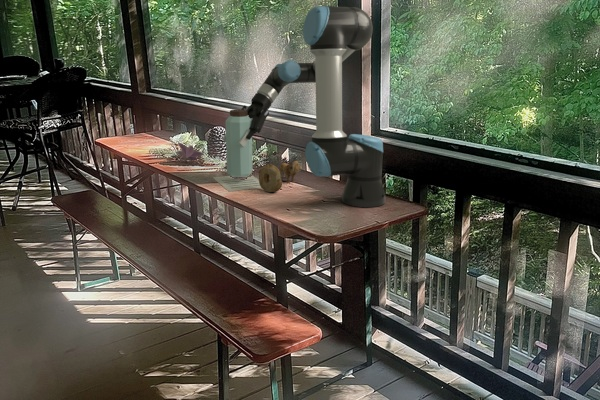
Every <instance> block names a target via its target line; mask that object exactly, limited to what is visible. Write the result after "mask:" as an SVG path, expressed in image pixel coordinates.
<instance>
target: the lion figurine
mask: <svg viewBox="0 0 600 400" xmlns="http://www.w3.org/2000/svg"><path fill="white" fill-rule="evenodd" d="M302 168H303V166H302V165H300V164H299V161H297V160H294V161H291V162H289V163H286V162H282V163H280V166H279V171H280V178H281V181H282V180H283V177H286V184H288V183H289V184H291V183H295V182H296V181H295V180H294V179H295V176H296V175H297V174H298V173H299V172H301V170H302ZM290 177H291V180H290Z"/></svg>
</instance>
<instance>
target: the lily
mask: <svg viewBox="0 0 600 400" xmlns="http://www.w3.org/2000/svg"><path fill="white" fill-rule="evenodd" d="M177 144H178V147H179V148H180V150H178V151H176V152H175V153H176V154H177V155H180V156H182V157H183V158H184V162H185V160H189V161H190V159H191V160H193V161H194V160H198V157H200V156H204V154H205V153H203V152H201V151H199V150H194V146H193V145H190V146H187V145H185V144H183V143H182V142H177ZM186 165H187V162H185V163H184V167H185V166H186Z"/></svg>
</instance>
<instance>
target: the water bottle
mask: <svg viewBox="0 0 600 400" xmlns="http://www.w3.org/2000/svg"><path fill="white" fill-rule="evenodd" d="M251 123H252V118H251V119H250V118H249V116H248V113H247V110H241V109H231V110H229V116H228V118H227V119H226V120H225V134H226V143H225V146H226V149H225V150H226V155H225V156H226V173H227V174H228V176H232V177H247V176H249V175H250V174H251V175H252V173H253V168H254V167H253V166H254V165H253V136H252V137H251V139H250V140H249V141H248V142H247V144H246V145H245V147H242V146H241V145H240V144H239V141H240V140H241V139H242V137H243V136H244V134H245V133H246V131H247V130H248V129H249V128H250V127H251ZM249 130H250V129H249Z"/></svg>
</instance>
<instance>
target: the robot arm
mask: <svg viewBox="0 0 600 400" xmlns="http://www.w3.org/2000/svg"><path fill="white" fill-rule="evenodd" d="M373 31H374V30H373V21H372V19H371V17H370V16H369V14H368V13H367V12H366V11H364V10H363V9H362V8H358V7H355V6H353V7H352V6H350V7H349V6H333V5H321V6H319V5H318V6H314V7H312V8H310V9H309V11H308V12H307V14H306V16H305V19H304V22H303V26H302V37H303V40H304V43H305V44H306V45H307V46H309V47H310V52H311V53H312V54H313V56H314V61H313V62H296V61H295V60H293V59H292V60H291V59H289V60H286V61H284V62H282V63H277V64H276V65H275V66H274V67H273V68H272V69H271V71H270V73H269V74H268V76H267V77H266V79H265V80H264V82H263V83H262V84H261V85H260V87H259V88H258V89H257V91H256V93H254V95H253V96H252V98H251V104H250V105H249V106H246V105H243V106H242V107H241V109H240V110H247V113H248V116H249V118H250V119H251V120H252V123H251V127H250V128H249V129H250V130H249V129H248V130H247V131H246V133H245V134H244V136H243V137H242V139H241V140H240V141H239V144H240V145H241V146H242V147H245V145H246V144H247V142H248V141H249V140H250V139H251V137H252V138H253V136H254V135H255V134H257V133H258V134H259V133H261V131H262V128H263V126H264V124H265V122H266V119H267V118H268V116H269V115H270V112H269V111H268V110H269V109H270V108H271V107H272V104H273V103H274V102H275V100H276V99H277V97H278V96H279V95H280V93H281V92H282V90H283V89H284V87H286V86H288V85H289V84H304V83H307V84H308V83H309V84H310V83H312V84H313V83H315V120H316V121H315V123H316V124H315V127H316V129H315V131H314V133H313V134H312V135H311V141H309V142H307V144H306V146H305V151H304V154H305V161H306V164H307V167H308V168H309V171H310V172H311V173H312V175H314V176H315V177H326V178H329V177H333V176H335V177H336V176H344V175H347V179H346V180H347V181H346V183H345V186H344V189H343V192H342V195H341V202H342V203H343V204H345V205H347V206H352V207H357V208H358V207H359V208H375V207H380V206H383V205H385V204H386V194H385V189H384V185H383V182H382V174H383V173H382V172H383V154H384V143H383V140H382V139H380V138H379V137H375V136H372V135H371V136H370V135H365V134H356V133H352V134H349V136H348V134H347V133H345V132H344V131H343V62H344V61H345V60H347V58H348V57H350V56H351V55H352V54H353V53H354V52H356V51H359V50H362V49H363V48H364V47H365V46H366V45H367V44H368V43H369V41H370V40H371V37H372V36H373ZM221 140H222V141H223V142H224V143H225V144H226V133H225V134H224V135H223V137H222V138H221Z"/></svg>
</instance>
